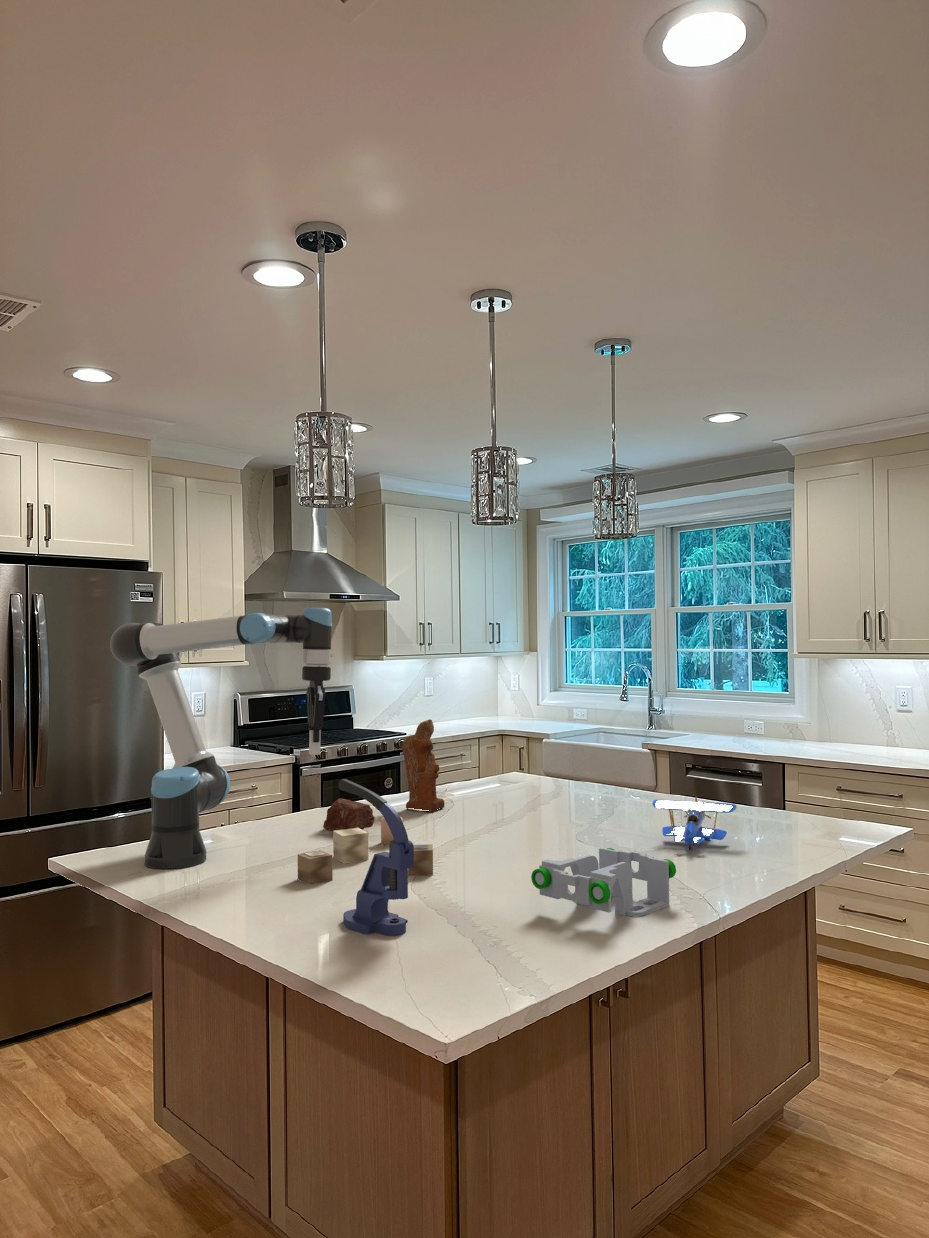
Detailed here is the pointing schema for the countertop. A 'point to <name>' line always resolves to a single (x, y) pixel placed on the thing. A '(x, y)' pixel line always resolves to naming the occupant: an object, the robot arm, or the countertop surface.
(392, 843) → the hand press
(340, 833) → the maple block
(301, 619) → the robot arm
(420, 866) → the walnut block
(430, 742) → the sculpture
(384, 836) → the peach rounded cylinder
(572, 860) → the bracket
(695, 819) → the airplane toy
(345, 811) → the rock
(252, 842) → the countertop surface
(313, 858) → the walnut block
